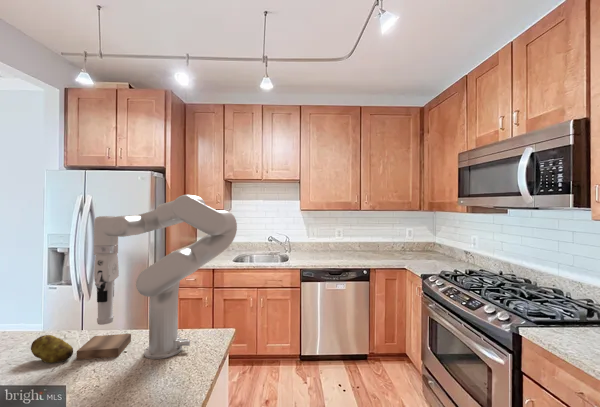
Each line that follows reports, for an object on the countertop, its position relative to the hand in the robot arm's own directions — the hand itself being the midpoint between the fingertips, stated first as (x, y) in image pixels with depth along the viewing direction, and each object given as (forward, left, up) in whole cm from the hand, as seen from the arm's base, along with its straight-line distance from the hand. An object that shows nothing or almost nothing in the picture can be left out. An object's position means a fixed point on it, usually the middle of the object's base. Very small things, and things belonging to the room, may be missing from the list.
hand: (105, 299), depth 115 cm
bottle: (0, 0, -9) cm, 9 cm away
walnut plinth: (0, 0, -19) cm, 19 cm away
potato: (+15, +5, -19) cm, 24 cm away
